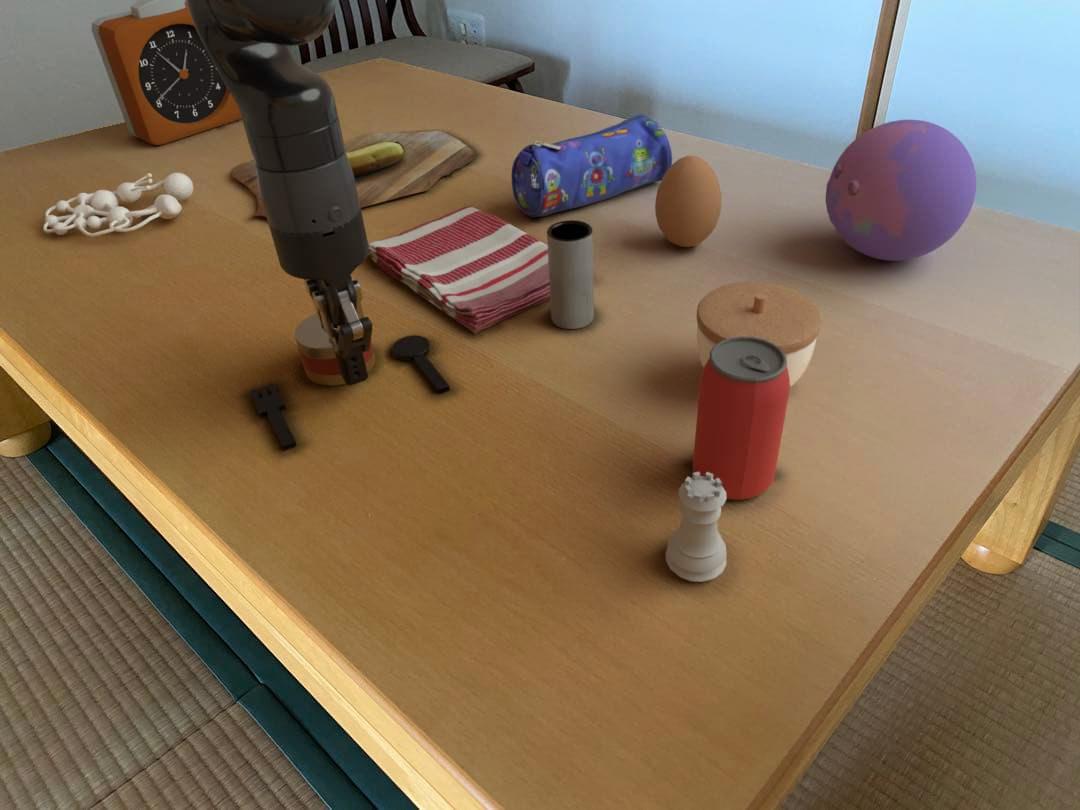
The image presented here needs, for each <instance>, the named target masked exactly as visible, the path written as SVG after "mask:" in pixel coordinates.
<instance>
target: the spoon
mask: <svg viewBox="0 0 1080 810" xmlns="http://www.w3.org/2000/svg"><path fill="white" fill-rule="evenodd" d="M430 352H431V342H430V341H429V339H428V338H426V337H424V336H422V335H414V334H413V335H406V336H404V337H401V338H399V339H397V340H396V341H395V342H394V343H393V345H392V353H393V356H394V357H395V359H396V360H399V361H401V362H405V363H406V362H410V363H411V362H413V363H414V364H415V365H416V367H417V368H418V369H419V371H420V372H421V373H422V374H423V376H424V377H425V378H426V380H427V381H428V382H429V383H430V385H431V387H432V388H433V389H434V390H435V391H436V393H437V394H438V395H440V394H443V393H446V392H449V391H450V390H451V389H450V384H449V383H448V382H447V381H446V379H444V377H443V376H442V375H441V373H440V372H439V371H438V369H437V368H436V366H434V365H433V363H432V362H431V361H430V359H429V357H427V356H428V355H429V354H430Z"/></svg>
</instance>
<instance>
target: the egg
mask: <svg viewBox="0 0 1080 810" xmlns="http://www.w3.org/2000/svg"><path fill="white" fill-rule="evenodd" d="M654 210H655V212H654V213H655V214H654V215H655V219H656V223H657V226H658V229H659V230H660V231H661V233H662V234H663V236H664V237H665V238H666V239H667V240H668V241H669V242H670V243H672V244H673V245H675V246H678V247H683V248H691V247H695V246H697V245H699V244H701V243H703V241H705V240H706V239H707V238H708V237H709V236H710V235H711V234H712V233H713V231H714V230H715V229H716V226H717V225H718V222H719V220H720V219H719V218H720V216H721V212H722V191H721V186H720V182H719V180H718V177H717V175H716V173H715V171H714V169H713V168H712V166H711V165H710V164H709V162H707V161H706V160H705V159H703V158H701V157H699V156H695V155H685V156H683V157H681V158H678V159H677V160H675V162H674V163H672V165H671V166H670V168H669V169H668V170H667V172H666V173H665V175H664V177H663V179H662V180H661V181H660V183H659V184H658V187H657V191H656V196H655V205H654Z"/></svg>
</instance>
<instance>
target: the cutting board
mask: <svg viewBox="0 0 1080 810" xmlns="http://www.w3.org/2000/svg"><path fill="white" fill-rule="evenodd" d="M344 147H345V150H346V154H347V157H348V160H349V163H350V165H351V168H352V171H353V175H354V179H355V183H356V188H357V193H358V198H359V202H360V207H361V208H364V207H368V206H369V207H370V206H372V205H376V204H377V205H378V204H380V203H384V202H387V201H392V200H395V199H399V198H402V197H407V196H410V195H414V194H418V193H422V192H423V193H424V192H427V191H429V190H430V189H431V188H432V187H433V186H434V185H435V184H436V183H437V182H438V181H439V180H440V179H441V178H442V177H446V176H447V175H450V174H452V173H453V171H456V170H459V169H462V168H463V167H464V166H466V165H467V164H469V163H471V162H473V160H474V159H475V157H476V155H477V154H476V152H475V150H473V148H471V147H469V145H467V144H465V143H464V142H462V141H461V140H460V139H459V138H456V137H454V136H452V135H451V134H449V133H447V132H444V131H442V130H428V131H411V132H388V133H385V132H384V133H383V132H374V133H369V134H364V135H362V136H359V137H357V138H355V139H353V140H350V141H349V142H347V143H344ZM231 177H232V178H234V179H235V180H237V181H239V182H240V183H241V184H243V185H244V186H246V187H247V188H248V189H249V190H250V191H251V192H252V193H253V195H255V196H256V201H257V202H256V203H257V209H256V211H255V212H254V213H253V214H252V215H251V217H256V216H258V217H260V216H261V217H263V218H267V217H266V214H265V210H264V207H263V203H262V200H261V196H260V192H259V186H258V179H257V172H256V167H255V162H254V160H249V161H246V162H242V163H240V164H238V165H236V166H234V167H233V168H231Z"/></svg>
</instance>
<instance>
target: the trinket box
mask: <svg viewBox="0 0 1080 810" xmlns="http://www.w3.org/2000/svg"><path fill="white" fill-rule="evenodd" d="M696 324H697V325H696V346H697V353H698V354H697V355H698V358H699V361H700V363H701V366H702V369H703V368H704V366H705V364H706V363H707V361H708V359H709V358H710V352H711V350H712V348H713V346H715V345H716V344H718V343H719V342H720V341H723V340H725V339H728V338H732V337H739V336H747V337H756V338H760V339H764V340H767V341H769V342H771V343H773V344H775V345H776V346H778V347H779V348H780V349H782V351H783V352H784V354H785V355H786V358H787V369H788V373H789V380H790V388H791V387H793V385H794V384H795V383H797V381H799V379H800V378H801V377H802V376H803V374H804V373H805V371H806V370H807V368H808V366H809V364H810V362H811V360H812V357H813V354H814V351H815V348H816V344H817V340H818V337H819V333H820V331H821V327H822V314H821V311H820V310H819V308H818V306H817V305H816V303H815V302H814V301H812V300H811V299H810V298H809V297H808V296H806V295H804V294H802V293H801V292H799V291H797V290H795V289H792V288H790V287H787V286H784V285H779V284H776V283H769V282H763V281H762V282H761V281H742V282H734V283H729V284H725V285H722V286H720V287H717V288H715V289H713V290H711V291H709V292H708V293H706V294H705V295H704V296H703V297H702V299H700V301H699V303H698V305H697V309H696Z"/></svg>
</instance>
